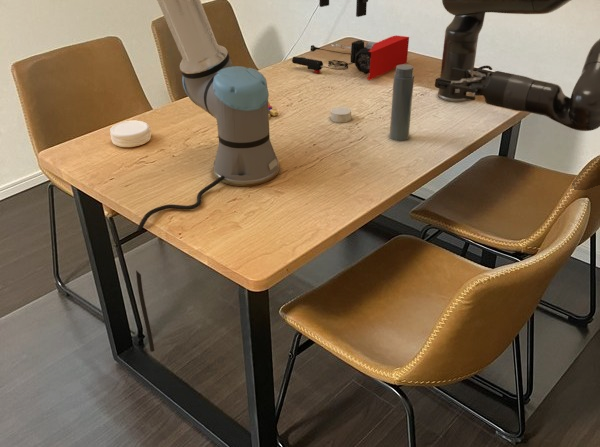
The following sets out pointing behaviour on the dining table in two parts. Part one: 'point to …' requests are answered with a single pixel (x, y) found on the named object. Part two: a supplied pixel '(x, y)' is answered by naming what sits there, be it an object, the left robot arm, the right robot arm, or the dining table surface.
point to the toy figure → (271, 110)
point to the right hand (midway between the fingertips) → (443, 77)
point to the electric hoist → (366, 56)
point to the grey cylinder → (401, 102)
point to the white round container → (130, 133)
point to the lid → (340, 114)
